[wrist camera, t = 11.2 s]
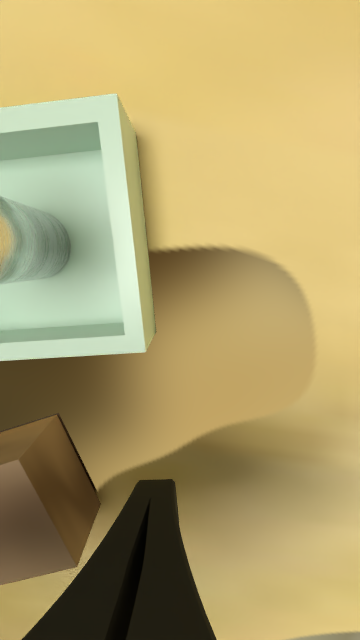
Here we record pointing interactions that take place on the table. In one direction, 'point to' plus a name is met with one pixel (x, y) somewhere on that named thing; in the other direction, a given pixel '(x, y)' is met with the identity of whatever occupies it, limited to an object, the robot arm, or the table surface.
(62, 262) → the pin
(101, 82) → the table surface
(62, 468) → the brown rectangular block
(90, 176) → the tray
